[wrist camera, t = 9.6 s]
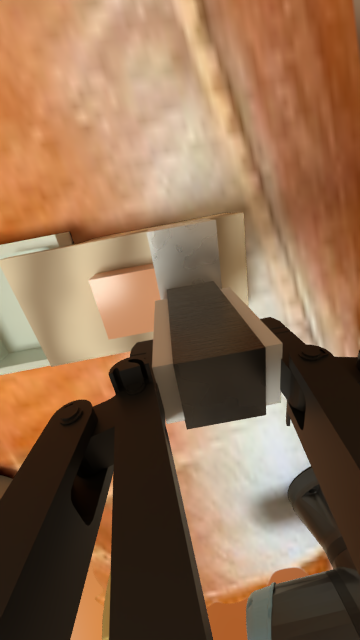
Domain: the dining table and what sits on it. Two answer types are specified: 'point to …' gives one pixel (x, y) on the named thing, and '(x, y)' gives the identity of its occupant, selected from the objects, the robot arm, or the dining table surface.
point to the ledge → (76, 294)
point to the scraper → (206, 328)
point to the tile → (126, 300)
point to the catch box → (21, 311)
